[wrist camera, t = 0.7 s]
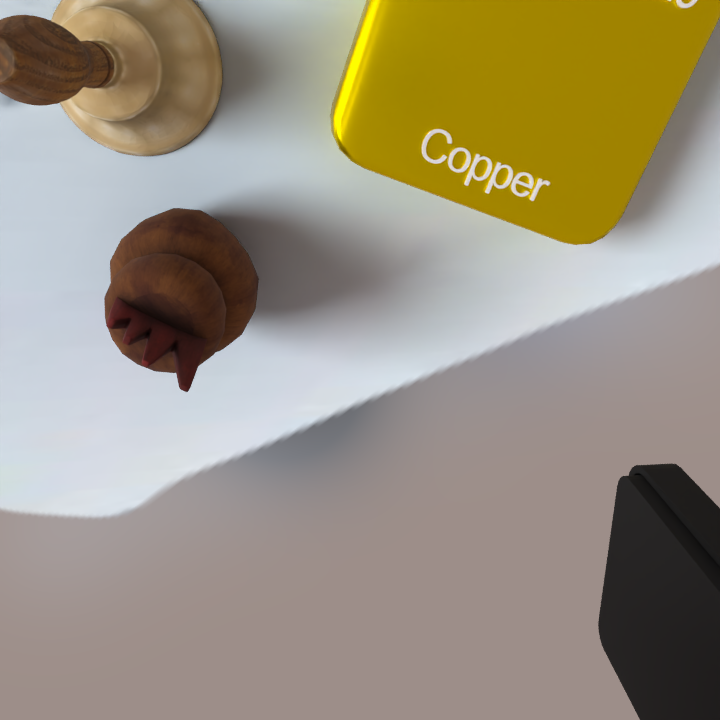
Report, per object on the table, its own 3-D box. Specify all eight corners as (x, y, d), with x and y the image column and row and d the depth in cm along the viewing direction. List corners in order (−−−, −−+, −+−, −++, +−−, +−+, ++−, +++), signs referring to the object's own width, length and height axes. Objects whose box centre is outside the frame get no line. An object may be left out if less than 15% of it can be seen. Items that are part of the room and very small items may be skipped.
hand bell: (209, 172, 36) (135, 231, 21) (42, 135, 34) (-164, 170, 20) (234, -5, 33) (170, -83, 18) (53, -51, 32) (-178, -176, 17)
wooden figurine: (283, 275, 38) (266, 384, 24) (205, 338, 39) (143, 479, 25) (197, 175, 36) (122, 231, 22) (116, 245, 37) (-6, 342, 23)
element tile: (318, 145, 36) (319, 152, 31) (427, -185, 31) (446, -231, 26) (573, 240, 38) (607, 260, 34) (710, -49, 34) (771, -69, 29)
